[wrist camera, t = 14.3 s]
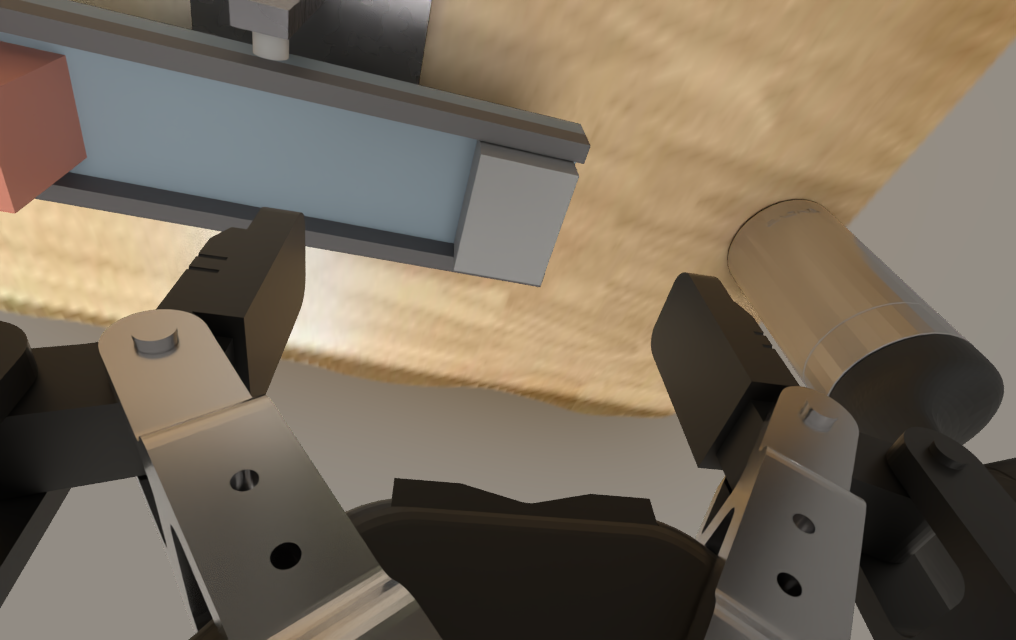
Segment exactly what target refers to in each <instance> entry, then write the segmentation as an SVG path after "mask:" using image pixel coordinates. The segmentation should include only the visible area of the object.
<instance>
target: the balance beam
mask: <svg viewBox="0 0 1016 640" xmlns="http://www.w3.org/2000/svg"><path fill="white" fill-rule="evenodd" d="M252 38H253V45H251V44H247V43H243V42H239V41H235V40H231V39H227V38H223V37H218V36H214V35H210V34H206V33H202V32H198V31H194V30H189V29H185V28H181V27H177V26H173V25H169V24H165V23H161V22H156V21H152V20H148V19H144V18H140V17H136V16H132V15H128V14H123V13H119V12H115V11H111V10H107V9H103V8H99V7H94V6H90V5H86V4H82V3H78V2H74V1H70V0H0V41H3V42H7V43H12V44H16V45H21V46H25V47H30V48H35V49H39V50H44V51H48V52H53V53H57V54H62V55H65V56H66V61H67V65H68V70H69V75H70V79H71V84H72V89H73V94H74V98H75V103H76V108H77V112H78V117H79V122H80V127H81V131H82V136H83V141H84V145H85V150H86V155H87V158H86V159H84V160H83V161H82V162H81V163H79V164H78V165H77V166H75V167H74V168H73V169H72V170H70V171H69V172H68V173H66V174H65V175H64V176H63V177H61V178H60V179H59V180H57V181H56V182H55V183H54V184H52V185H51V186H50V187H49V188H47V189H46V190H45V191H43V192H42V193H41V194H40V195H38V196H37V197H36V198H34V199H40V200H46V201H51V202H57V203H63V204H68V205H74V206H80V207H86V208H91V209H97V210H103V211H108V212H114V213H120V214H125V215H131V216H137V217H143V218H148V219H154V220H160V221H165V222H171V223H177V224H183V225H188V226H194V227H200V228H205V229H211V230H217V231H222V232H223V231H225V230H227V229H228V228H230V227H235V228H242V229H247V228H248V227H249V225H250V224H251V222H252V221H253V219H254V218H255V216H256V215H257V213H258V212H259V210H260V209H261V208H262V207H270V208H276V209H282V210H289V211H295V212H302V213H303V214H304V218H305V246H308V247H314V248H320V249H325V250H331V251H337V252H342V253H348V254H354V255H359V256H365V257H371V258H377V259H382V260H388V261H394V262H399V263H405V264H411V265H417V266H422V267H428V268H434V269H439V270H445V271H451V272H456V273H462V274H468V275H474V276H479V277H485V278H491V279H496V280H502V281H508V282H514V283H519V284H525V285H531V286H536V287H540V286H541V283H542V281H543V278H544V275H545V271H546V268H547V265H548V262H549V259H550V257H551V254H552V251H553V248H554V245H555V243H556V240H557V237H558V234H559V231H560V228H561V226H562V223H563V220H564V217H565V214H566V212H567V209H568V206H569V203H570V200H571V197H572V195H573V192H574V189H575V186H576V183H577V181H578V178H579V175H578V172H577V169H576V167H575V163H576V162H577V163H582V164H584V163H585V160H586V157H587V154H588V151H589V149H590V144H589V141H588V139H587V137H586V135H585V133H584V131H583V129H582V127H581V124H578V123H574V122H570V121H566V120H561V119H557V118H553V117H549V116H545V115H541V114H537V113H532V112H528V111H524V110H520V109H516V108H512V107H508V106H504V105H499V104H495V103H491V102H487V101H483V100H479V99H475V98H470V97H466V96H462V95H458V94H454V93H450V92H446V91H442V90H437V89H433V88H429V87H425V86H421V85H417V84H413V83H408V82H404V81H400V80H396V79H392V78H388V77H384V76H380V75H375V74H371V73H367V72H363V71H359V70H355V69H351V68H347V67H342V66H338V65H334V64H330V63H326V62H322V61H318V60H313V59H309V58H305V57H301V56H297V55H293V54H289V39H288V40H286V39H282V38H278V37H274V36H270V35H265V34H261V33H257V32H253V31H252Z"/></svg>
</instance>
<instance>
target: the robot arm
mask: <svg viewBox="0 0 1016 640" xmlns="http://www.w3.org/2000/svg"><path fill="white" fill-rule="evenodd" d="M728 267H729V270H730V273H731V275H732V276H733V278H734V279H735V281H736V282H737V284H738V285H739V287H740V288H741V290H742V291H743V293H744V294H745V296H746V298H747V299H748V301H749V302H750V304H751V305H752V307H753V308H754V310H755V311H756V313H757V314H758V316H759V317H760V319H761V320H762V322H763V323H764V325H765V326H766V328H767V329H768V331H769V332H770V334H771V335H772V336H773V338H774V339H775V341H776V343H777V344H778V346H779V347H780V349H781V350H782V351H783V353H784V355H785V356H786V358H787V359H788V361H789V362H790V364H791V365H792V367H793V368H794V370H795V371H796V373H797V374H798V376H799V377H800V378H801V380H802V382H803V383H804V384H805V386H806V387H801V386H799V384H798V383H797V381H796V380H795V378H794V377H793V375H792V374H791V373H790V371H789V369H788V368H787V366H786V365H785V363H784V362H783V361H782V359H781V358H780V356H779V355H778V353H777V352H776V350H775V349H772V344H771V343H770V341H769V340H768V338H767V337H766V336H763V331H762V330H761V328H760V327H759V325H758V324H757V322H756V321H755V319H754V318H753V317H752V316H751V315H750V314H749V313H748V312H746V311H745V310H744V309H743V308H742V307H740V306H739V305H738V304H737V303H736V302H734V301H733V300H732V298H731V297H730V295H729V294H728V292H727V291H726V289H725V288H724V286H723V285H722V283H721V282H720V280H719V279H718V278H716V277H712V276H705V275H699V274H692V273H686V272H684V273H681V274H680V275H679V276H678V277H677V278H676V280H675V282H674V284H673V286H672V288H671V291H670V293H669V295H668V297H667V300H666V302H665V304H664V306H663V308H662V311H661V313H660V315H659V317H658V320H657V322H656V324H655V326H654V329H653V333H652V338H651V350H652V354H653V357H654V360H655V362H656V365H657V367H658V370H659V372H660V374H661V377H662V379H663V382H664V384H665V387H666V389H667V392H668V394H669V397H670V399H671V402H672V404H673V407H674V409H675V412H676V414H677V417H678V419H679V421H680V424H681V426H682V429H683V431H684V434H685V436H686V439H687V441H688V444H689V446H690V448H691V451H692V454H693V456H694V459H695V461H696V464H697V466H698V468H707V469H718V470H723V471H724V473H725V477H724V478H723V480H722V481H721V483H720V484H719V486H718V487H717V489H716V492H715V494H714V496H713V498H712V501H711V503H710V505H709V508H708V510H707V512H706V514H705V516H704V519H703V521H702V523H701V525H700V528H699V530H698V532H697V535H696V537H695V539H694V538H692V537H691V536H689V535H687V534H686V533H684V532H682V531H680V530H678V529H676V528H674V527H671V526H669V525H667V524H665V523H662V522H659V521H656V519H655V515H654V512H653V509H652V505H651V502H650V499H644V498H633V497H621V496H609V495H596V494H588V495H582V496H575V497H569V498H563V499H558V500H551V501H545V502H539V503H524V502H519V501H516V500H513V499H510V498H507V497H503V496H500V495H497V494H494V493H490V492H487V491H484V490H481V489H477V488H474V487H471V486H467V485H464V484H460V483H449V482H436V481H424V480H411V479H400V478H395V479H394V486H393V494H392V499H386V500H380V501H376V502H372V503H369V504H365V505H361V506H359V507H356V508H354V509H351V510H349V511H346V512H345V511H344V510H343V508H342V507H341V505H340V504H339V502H338V501H337V499H336V498H335V496H334V495H333V493H332V491H331V490H330V489H329V487H328V485H327V484H326V482H325V481H324V479H323V478H322V476H321V475H320V473H319V472H318V470H317V469H316V467H315V466H314V464H313V463H312V461H311V460H310V458H309V456H308V455H307V453H306V452H305V450H304V449H303V447H302V446H301V444H300V443H299V441H298V440H297V438H296V436H295V435H294V433H293V432H292V430H291V429H290V427H289V426H288V424H287V423H286V421H285V420H284V418H283V417H282V415H281V413H280V412H279V411H278V409H277V407H276V406H275V405H274V403H273V402H272V400H271V399H270V398H269V397H268V396H267V395H266V392H267V390H268V387H269V385H270V383H271V380H272V377H273V375H274V373H275V370H276V368H277V365H278V363H279V360H280V358H281V356H282V353H283V351H284V348H285V346H286V343H287V341H288V338H289V336H290V334H291V331H292V329H293V326H294V324H295V321H296V319H297V316H298V314H299V311H300V309H301V306H302V302H303V297H304V291H305V218H304V214H303V213H302V212H295V211H289V210H282V209H276V208H270V207H262V208H261V209H260V210H259V212H258V213H257V215H256V216H255V218H254V219H253V221H252V222H251V224H250V225H249V227H248V228H247V229H242V228H235V227H230V228H228V229H227V230H225V231H223V232H221V233H219V234H217V235H215V236H213V237H212V238H210V239H209V240H208V242H207V243H206V244H205V246H204V247H203V248H202V249H201V251H200V252H199V255H198V257H197V256H196V257H195V259H194V260H193V261H192V263H191V264H190V265H189V269H186V271H185V272H184V273H183V274H182V276H181V277H180V278H179V280H178V281H177V282H176V284H175V285H174V286H173V288H172V289H171V290H170V292H169V293H168V294H167V296H166V297H165V298H164V300H163V301H162V302H161V303H160V305H159V306H158V307H157V309H156V310H149V311H143V312H139V313H135V314H132V315H129V316H126V317H124V318H122V319H120V320H118V321H116V322H115V323H113V324H112V325H110V326H109V327H108V328H107V329H106V330H105V331H104V332H103V334H102V335H101V337H100V339H99V342H96V343H88V344H80V345H69V346H68V345H67V346H57V347H56V346H55V347H43V348H33V349H32V348H31V347H30V345H29V342H28V339H27V337H26V334H25V333H24V332H23V331H22V330H21V329H20V328H18V327H17V326H15V325H12V324H10V323H7V322H2V321H0V608H1V606H2V604H3V602H4V601H5V599H6V597H7V596H8V594H9V592H10V591H11V589H12V587H13V586H14V584H15V582H16V580H17V579H18V577H19V575H20V574H21V572H22V570H23V569H24V567H25V565H26V564H27V562H28V560H29V558H30V557H31V555H32V553H33V552H34V550H35V548H36V547H37V545H38V543H39V541H40V540H41V538H42V536H43V535H44V533H45V531H46V529H47V528H48V526H49V525H50V523H51V521H52V519H53V518H54V516H55V514H56V513H57V511H58V509H59V507H60V506H61V504H62V502H63V501H64V499H65V497H66V496H67V494H68V492H69V490H70V489H71V488H72V487H77V486H84V485H89V484H95V483H101V482H107V481H113V480H118V479H125V478H130V477H135V478H136V480H137V483H138V485H139V488H140V490H141V493H142V495H143V497H144V500H145V503H146V505H147V508H148V510H149V513H150V515H151V518H152V520H153V523H154V525H155V528H156V530H157V533H158V535H159V538H160V540H161V543H162V545H163V548H164V550H165V553H166V555H167V558H168V560H169V563H170V566H171V568H172V571H173V574H174V577H175V580H176V583H177V586H178V589H179V592H180V595H181V598H182V600H183V603H184V606H185V609H186V612H187V614H188V617H189V620H190V622H191V625H192V627H193V630H194V632H195V635H194V636H192V637H191V638H190V639H189V640H850V638H851V630H852V622H853V614H854V606H855V603H856V605H857V607H858V609H859V611H860V613H861V615H862V617H863V619H864V621H865V623H866V625H867V627H868V629H869V631H870V633H871V635H872V637H873V639H874V640H1016V458H1012V459H1007V460H1002V461H997V462H993V463H988V464H982V463H981V462H980V461H979V460H978V459H977V457H976V456H974V455H973V454H972V453H971V452H970V451H969V450H968V449H966V448H965V447H964V446H962V445H963V444H965V443H966V442H967V441H969V440H970V439H971V438H973V437H974V436H975V435H976V434H977V433H979V432H980V431H981V430H982V429H983V428H984V427H985V426H986V425H987V424H988V423H989V421H990V420H991V419H992V417H993V416H994V415H995V413H996V412H997V410H998V408H999V406H1000V404H1001V401H1002V398H1003V394H1004V385H1003V380H1002V378H1001V376H1000V374H999V372H998V371H997V369H996V368H995V367H994V365H993V364H992V363H990V361H989V360H988V359H987V358H986V357H985V356H984V355H983V354H981V353H980V352H979V351H978V350H977V349H976V348H975V347H974V346H973V345H972V344H971V343H970V342H969V341H968V340H966V339H965V338H964V337H963V336H962V335H961V334H960V333H959V332H958V331H957V330H956V329H955V328H954V327H952V326H951V325H950V324H949V323H948V322H947V321H946V320H945V319H944V318H943V317H942V316H941V315H940V314H939V313H937V312H936V311H935V310H934V309H933V308H932V307H931V306H930V305H928V304H927V303H926V302H925V301H924V300H923V299H922V298H921V297H920V296H919V295H918V294H917V293H916V292H915V291H914V290H913V289H911V288H910V287H909V286H908V285H907V284H906V283H905V282H904V281H903V280H902V279H900V277H899V276H897V275H896V274H895V273H894V272H893V271H892V270H891V269H890V268H889V267H888V266H887V265H886V264H884V263H883V262H882V261H881V260H880V259H879V258H878V257H877V256H876V255H875V254H874V253H873V252H872V251H871V250H869V249H868V248H867V247H866V246H865V245H864V244H863V243H862V242H861V241H860V240H859V239H858V238H857V237H855V236H854V235H853V234H852V233H851V232H850V231H849V230H848V229H847V228H846V227H845V226H844V225H843V224H842V223H840V222H839V221H838V220H837V219H836V218H835V217H834V216H833V215H832V214H831V213H830V212H829V211H828V210H827V209H825V208H824V207H823V206H821V205H819V204H818V203H816V202H812V201H808V200H791V201H785V202H781V203H778V204H775V205H773V206H770V207H768V208H766V209H765V210H763V211H761V212H759V213H758V214H756V215H755V216H754V217H752V218H751V219H750V220H749V221H748V222H747V223H746V224H745V225H744V226H743V227H742V228H741V229H740V230H739V232H738V233H737V235H736V236H735V238H734V240H733V242H732V244H731V246H730V249H729V254H728Z"/></svg>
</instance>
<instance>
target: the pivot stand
mask: <svg viewBox="0 0 1016 640" xmlns="http://www.w3.org/2000/svg"><path fill="white" fill-rule="evenodd" d="M431 2H432V0H190V3H191V17H192V30H194V31H198V32H202V33H206V34H210V35H214V36H218V37H223V38H227V39H231V40H235V41H239V42H243V43H247V44H251V45H253V38H252V31H253V32H257V33H261V34H265V35H270V36H274V37H278V38H282V39H286V40H288V39H289V54H293V55H297V56H301V57H305V58H309V59H313V60H318V61H322V62H326V63H330V64H334V65H338V66H342V67H347V68H351V69H355V70H359V71H363V72H367V73H371V74H375V75H380V76H384V77H388V78H392V79H396V80H400V81H404V82H408V83H413V84H417V85H419V79H420V73H421V66H422V60H423V53H424V47H425V41H426V34H427V28H428V21H429V15H430V8H431Z"/></svg>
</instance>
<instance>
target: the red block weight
mask: <svg viewBox="0 0 1016 640" xmlns="http://www.w3.org/2000/svg"><path fill="white" fill-rule="evenodd" d="M86 158H87V155H86V150H85V145H84V141H83V136H82V131H81V127H80V122H79V117H78V112H77V108H76V103H75V98H74V94H73V89H72V84H71V79H70V75H69V70H68V65H67V61H66V56H65V55H62V54H57V53H53V52H48V51H44V50H39V49H35V48H30V47H25V46H21V45H16V44H12V43H7V42H3V41H0V211H3V212H9V213H16V212H18V211H19V210H20V209H22V208H23V207H24V206H25V205H27V204H28V203H29V202H31V201H32V200H33V199H34V198H36V197H37V196H38V195H40V194H41V193H42V192H43V191H45V190H46V189H47V188H49V187H50V186H51V185H52V184H54V183H55V182H56V181H57V180H59V179H60V178H61V177H63V176H64V175H65V174H66V173H68V172H69V171H70V170H72V169H73V168H74V167H75V166H77V165H78V164H79V163H81V162H82V161H83V160H84V159H86Z"/></svg>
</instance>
